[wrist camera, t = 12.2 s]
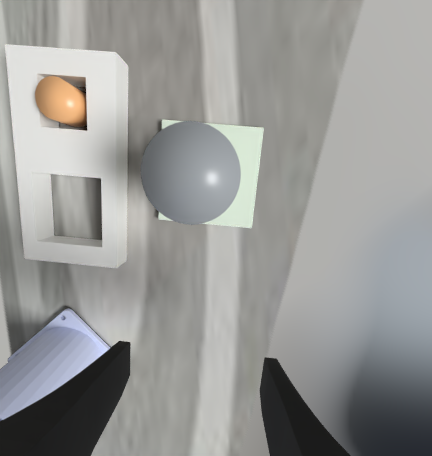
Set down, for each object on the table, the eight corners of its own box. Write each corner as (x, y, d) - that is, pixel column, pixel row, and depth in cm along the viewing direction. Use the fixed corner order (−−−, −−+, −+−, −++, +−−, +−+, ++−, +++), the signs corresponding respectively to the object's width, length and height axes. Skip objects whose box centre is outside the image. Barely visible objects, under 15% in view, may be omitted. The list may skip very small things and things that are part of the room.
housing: (127, 260, 21) (116, 268, 19) (42, 251, 21) (24, 258, 20) (128, 66, 18) (115, 52, 16) (28, 59, 18) (4, 44, 16)
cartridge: (202, 215, 20) (184, 242, 12) (165, 169, 19) (120, 166, 11) (248, 180, 19) (261, 184, 11) (211, 130, 18) (197, 97, 10)
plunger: (93, 128, 18) (74, 121, 16) (59, 125, 19) (36, 118, 16) (92, 90, 18) (73, 77, 16) (57, 87, 18) (33, 74, 16)
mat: (251, 226, 20) (251, 228, 19) (160, 218, 20) (158, 219, 20) (262, 129, 18) (263, 127, 18) (163, 121, 19) (162, 119, 18)
